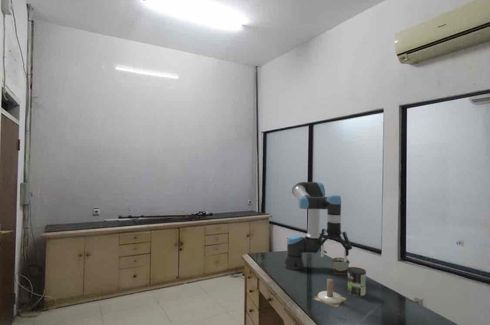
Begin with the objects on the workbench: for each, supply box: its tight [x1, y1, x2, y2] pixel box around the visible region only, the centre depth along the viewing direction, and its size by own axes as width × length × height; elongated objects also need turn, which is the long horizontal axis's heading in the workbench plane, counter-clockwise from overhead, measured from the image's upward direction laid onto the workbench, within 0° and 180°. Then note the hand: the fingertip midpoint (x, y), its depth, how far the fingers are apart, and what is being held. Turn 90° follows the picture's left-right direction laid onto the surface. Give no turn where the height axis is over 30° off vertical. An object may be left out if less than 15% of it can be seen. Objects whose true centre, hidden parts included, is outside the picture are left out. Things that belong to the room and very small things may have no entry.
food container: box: [331, 257, 351, 275], centre depth 204 cm, size 12×6×10 cm, turn 84°
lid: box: [317, 278, 343, 305], centre depth 160 cm, size 13×13×10 cm
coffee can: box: [347, 266, 367, 297], centre depth 169 cm, size 10×10×14 cm
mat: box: [312, 294, 348, 308], centre depth 160 cm, size 14×14×1 cm
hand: (333, 258), depth 163 cm, fingers open, 13 cm apart
